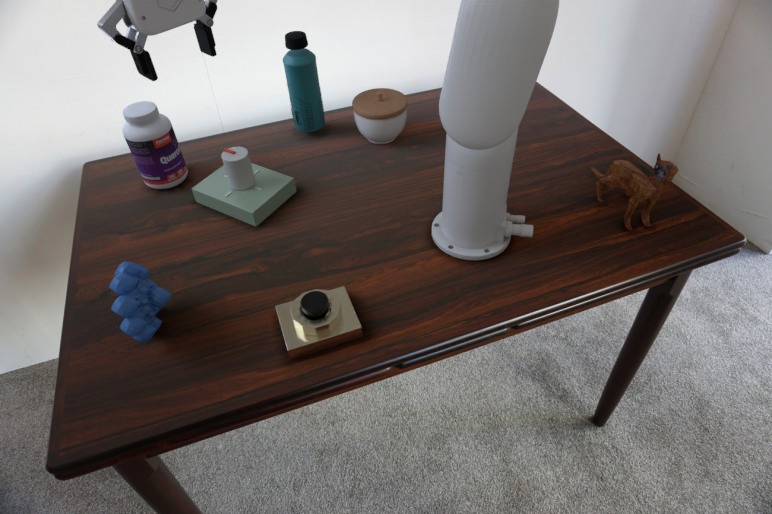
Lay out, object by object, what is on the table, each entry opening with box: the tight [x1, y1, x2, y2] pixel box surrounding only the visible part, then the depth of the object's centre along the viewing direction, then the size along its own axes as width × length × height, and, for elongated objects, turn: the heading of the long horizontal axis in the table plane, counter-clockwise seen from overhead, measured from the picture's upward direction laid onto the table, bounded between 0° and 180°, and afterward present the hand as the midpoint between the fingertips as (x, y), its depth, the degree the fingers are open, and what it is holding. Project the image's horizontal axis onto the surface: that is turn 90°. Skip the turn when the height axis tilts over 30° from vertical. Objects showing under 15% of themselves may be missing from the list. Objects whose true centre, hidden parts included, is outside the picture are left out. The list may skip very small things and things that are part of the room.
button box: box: [274, 285, 364, 361], centre depth 70 cm, size 10×8×4 cm
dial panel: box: [191, 162, 297, 228], centre depth 92 cm, size 14×11×3 cm
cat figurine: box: [590, 153, 679, 231], centre depth 83 cm, size 18×7×14 cm, turn 13°
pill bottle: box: [122, 100, 189, 190], centre depth 93 cm, size 8×8×14 cm
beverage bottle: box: [282, 30, 326, 133], centre depth 101 cm, size 6×7×20 cm
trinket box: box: [351, 87, 409, 145], centre depth 103 cm, size 11×11×9 cm
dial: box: [220, 146, 255, 190], centre depth 89 cm, size 4×4×6 cm
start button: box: [301, 291, 330, 320], centre depth 69 cm, size 4×4×2 cm
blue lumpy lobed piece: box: [108, 260, 172, 344], centre depth 68 cm, size 12×7×12 cm, turn 14°
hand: (180, 65), depth 74 cm, fingers open, 9 cm apart
